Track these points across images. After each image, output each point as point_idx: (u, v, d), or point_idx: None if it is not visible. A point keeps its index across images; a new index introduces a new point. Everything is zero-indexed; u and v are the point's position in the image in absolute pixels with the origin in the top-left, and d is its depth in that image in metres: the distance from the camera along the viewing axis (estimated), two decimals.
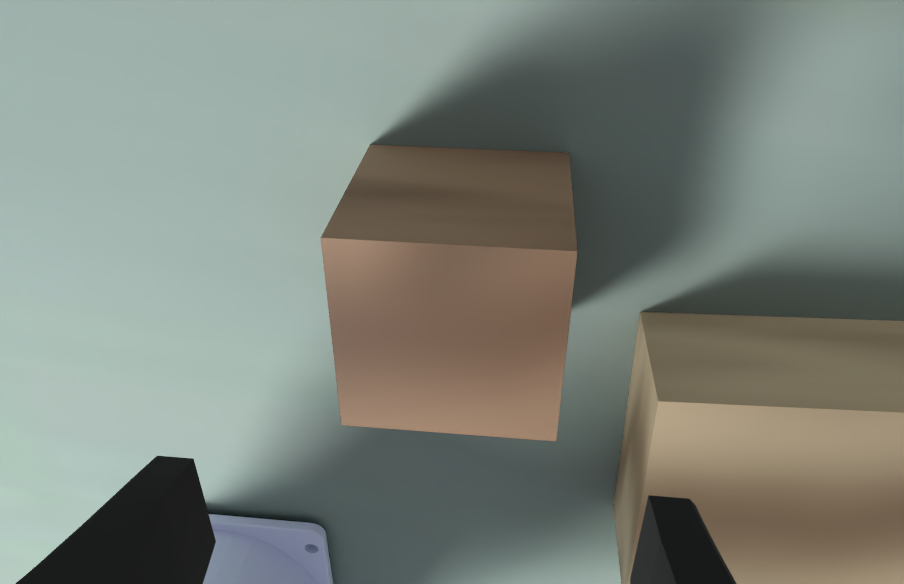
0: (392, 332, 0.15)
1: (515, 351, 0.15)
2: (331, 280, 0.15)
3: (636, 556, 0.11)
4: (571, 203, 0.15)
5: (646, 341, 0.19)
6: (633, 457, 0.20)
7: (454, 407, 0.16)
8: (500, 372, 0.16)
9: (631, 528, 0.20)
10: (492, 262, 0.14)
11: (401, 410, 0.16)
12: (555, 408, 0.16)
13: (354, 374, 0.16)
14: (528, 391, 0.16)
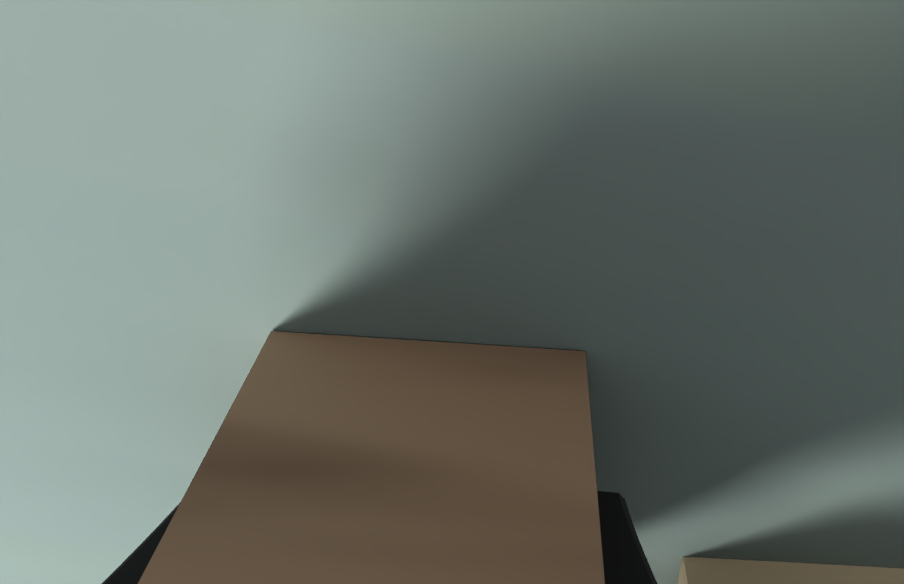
0: None
1: None
2: None
3: None
4: (594, 499, 0.09)
5: None
6: None
7: None
8: None
9: None
10: None
11: None
12: None
13: None
14: None
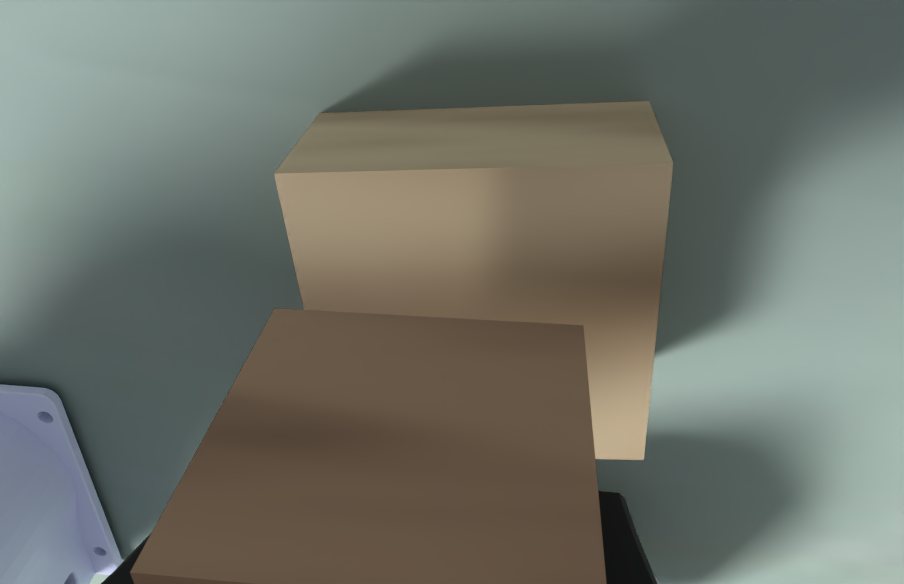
0: None
1: None
2: None
3: None
4: (592, 461, 0.09)
5: (305, 132, 0.17)
6: None
7: None
8: None
9: None
10: None
11: None
12: None
13: None
14: None
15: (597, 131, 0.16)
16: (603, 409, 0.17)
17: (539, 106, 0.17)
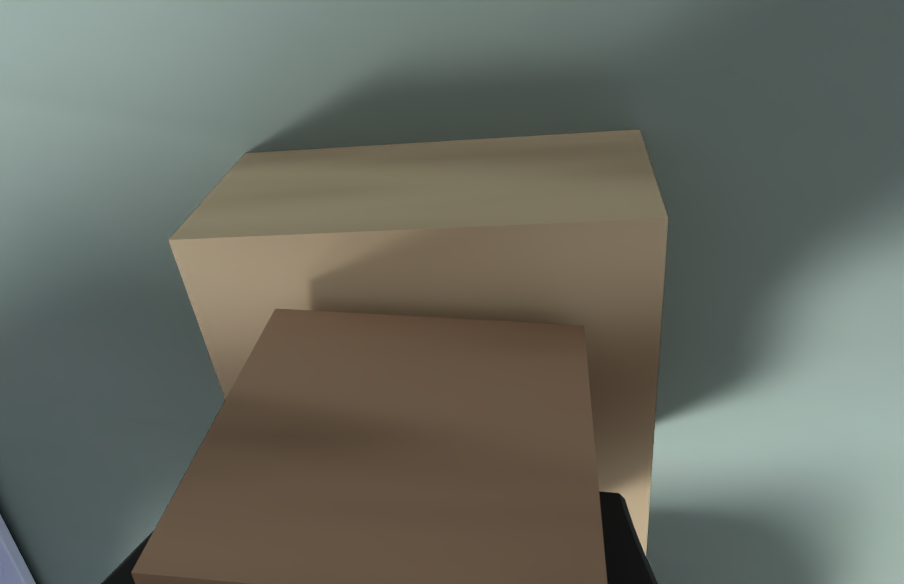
0: None
1: None
2: None
3: None
4: (592, 462, 0.09)
5: (221, 180, 0.14)
6: None
7: None
8: None
9: None
10: None
11: None
12: None
13: None
14: None
15: (573, 172, 0.12)
16: None
17: (506, 139, 0.14)
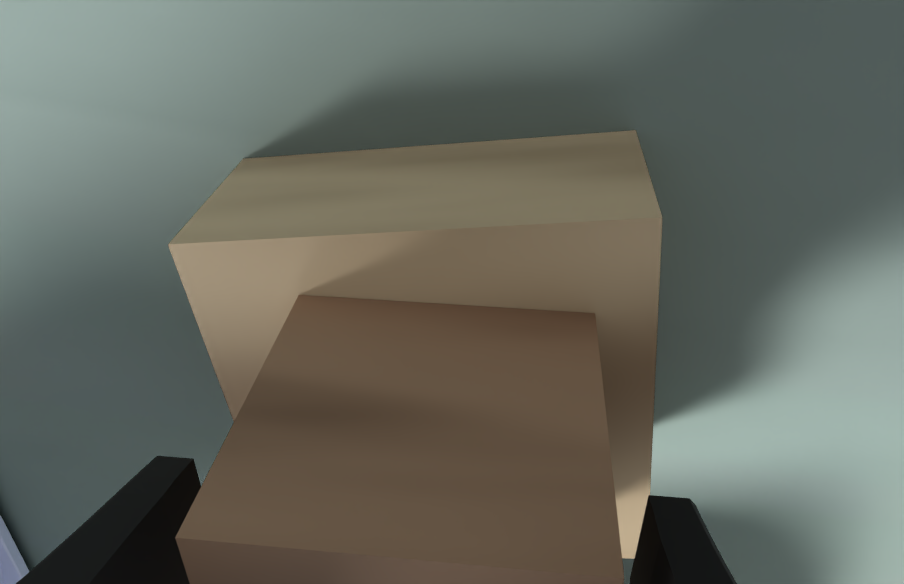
0: None
1: None
2: None
3: (636, 556, 0.11)
4: (605, 440, 0.09)
5: (220, 185, 0.14)
6: None
7: None
8: None
9: None
10: None
11: None
12: None
13: None
14: None
15: (569, 173, 0.13)
16: None
17: (502, 141, 0.14)
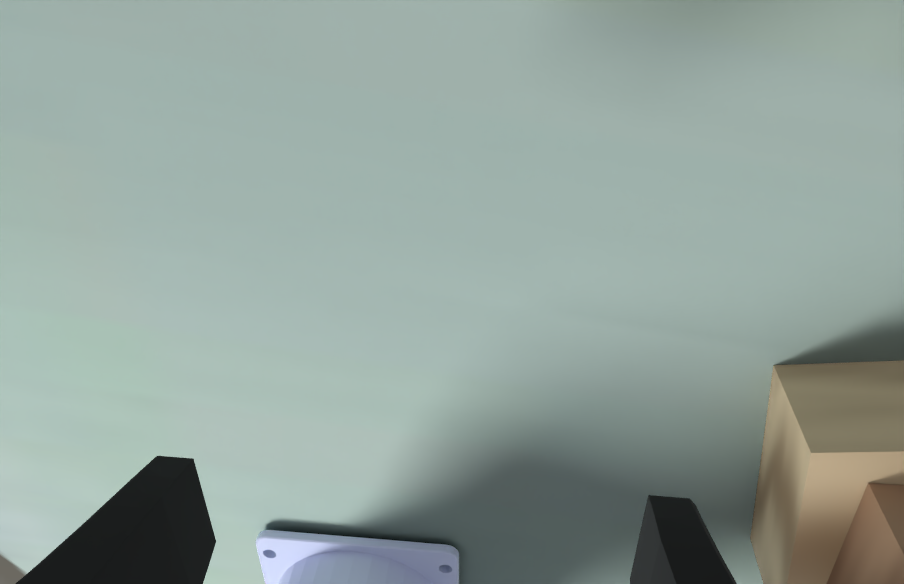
0: None
1: None
2: None
3: (636, 556, 0.11)
4: None
5: (786, 393, 0.21)
6: (777, 497, 0.22)
7: None
8: None
9: (782, 563, 0.22)
10: None
11: None
12: None
13: None
14: None
15: None
16: None
17: None
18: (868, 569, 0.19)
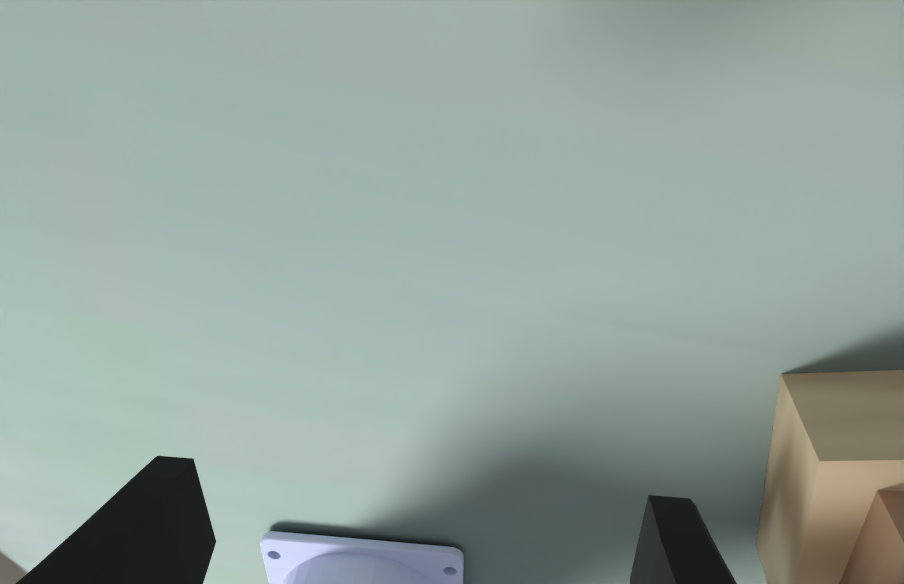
0: None
1: None
2: None
3: (636, 556, 0.11)
4: None
5: (793, 401, 0.21)
6: (784, 504, 0.22)
7: None
8: None
9: (788, 569, 0.22)
10: None
11: None
12: None
13: None
14: None
15: None
16: None
17: None
18: (877, 575, 0.19)
